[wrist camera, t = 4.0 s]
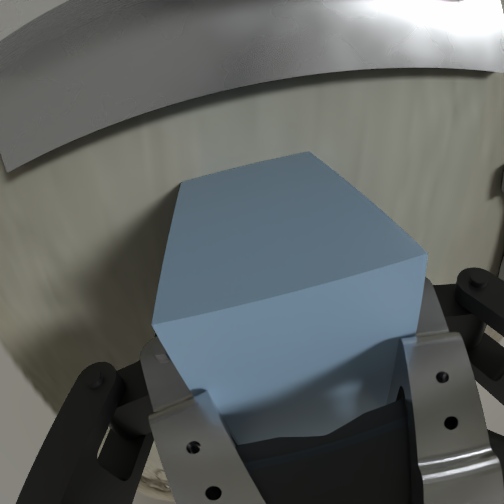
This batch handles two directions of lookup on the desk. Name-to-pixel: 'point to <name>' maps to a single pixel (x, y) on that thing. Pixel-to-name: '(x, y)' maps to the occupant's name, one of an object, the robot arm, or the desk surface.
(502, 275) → the bracket
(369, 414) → the robot arm
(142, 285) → the desk surface
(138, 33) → the din rail
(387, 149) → the desk surface
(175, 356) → the block
